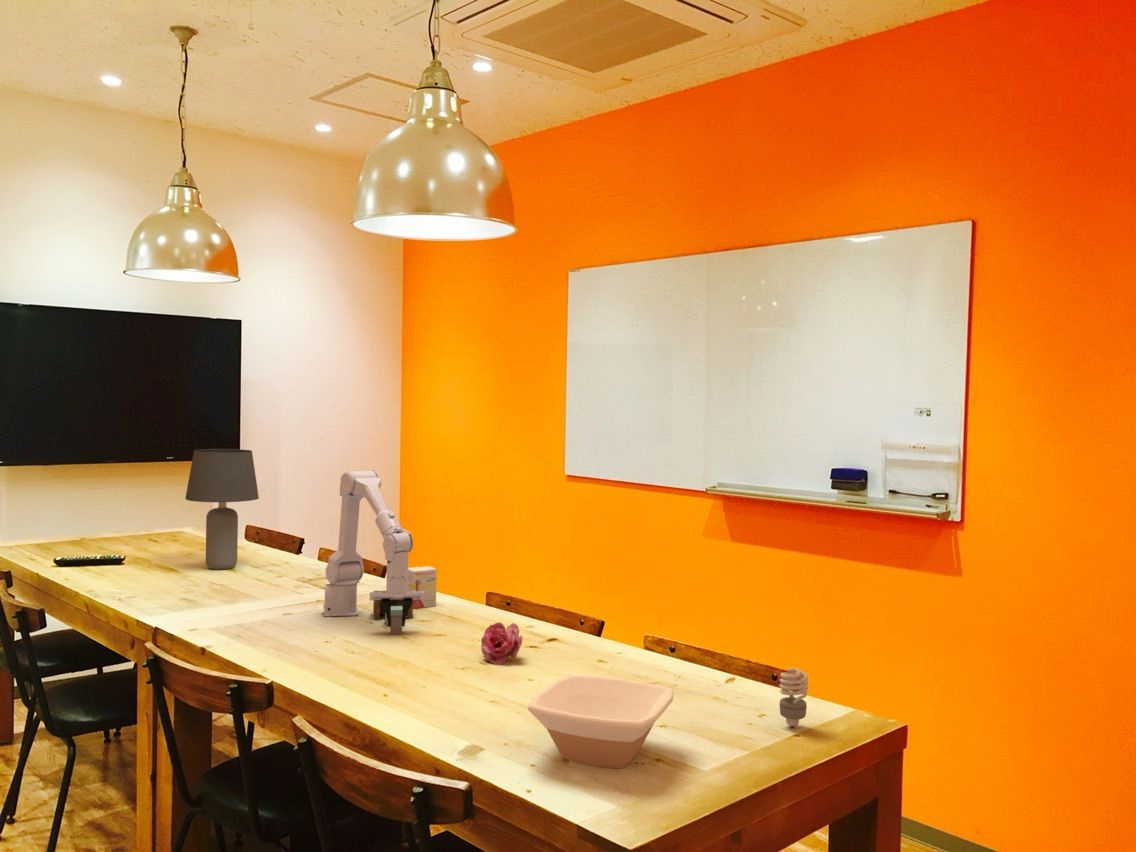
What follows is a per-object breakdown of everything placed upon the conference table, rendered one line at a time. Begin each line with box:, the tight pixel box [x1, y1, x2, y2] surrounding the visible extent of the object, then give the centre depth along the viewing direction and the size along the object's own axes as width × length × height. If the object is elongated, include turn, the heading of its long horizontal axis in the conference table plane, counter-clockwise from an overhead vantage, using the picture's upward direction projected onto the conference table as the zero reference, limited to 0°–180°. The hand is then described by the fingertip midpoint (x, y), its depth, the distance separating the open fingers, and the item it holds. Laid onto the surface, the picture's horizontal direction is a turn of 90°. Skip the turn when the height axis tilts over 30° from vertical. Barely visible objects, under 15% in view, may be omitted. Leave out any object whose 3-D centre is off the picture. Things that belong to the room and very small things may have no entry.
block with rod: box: [384, 606, 403, 635], centre depth 259 cm, size 5×14×4 cm, turn 13°
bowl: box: [527, 673, 674, 769], centre depth 172 cm, size 24×25×11 cm
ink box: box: [408, 565, 438, 610], centre depth 287 cm, size 9×5×12 cm, turn 126°
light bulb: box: [778, 667, 809, 728], centre depth 188 cm, size 6×6×12 cm
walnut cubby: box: [372, 590, 414, 621], centre depth 273 cm, size 11×8×7 cm
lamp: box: [185, 448, 260, 571], centre depth 339 cm, size 25×25×43 cm
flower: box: [480, 622, 523, 665], centre depth 231 cm, size 11×10×10 cm
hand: (396, 625), depth 254 cm, fingers closed on block with rod, 3 cm apart
